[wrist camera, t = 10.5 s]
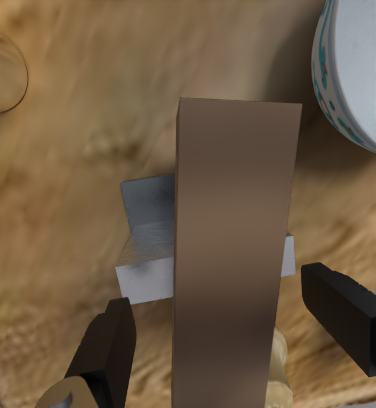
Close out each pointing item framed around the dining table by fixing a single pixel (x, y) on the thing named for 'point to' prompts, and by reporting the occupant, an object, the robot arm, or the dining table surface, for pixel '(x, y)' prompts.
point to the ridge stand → (157, 240)
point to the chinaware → (347, 68)
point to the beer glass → (11, 75)
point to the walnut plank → (229, 246)
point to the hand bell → (278, 375)
